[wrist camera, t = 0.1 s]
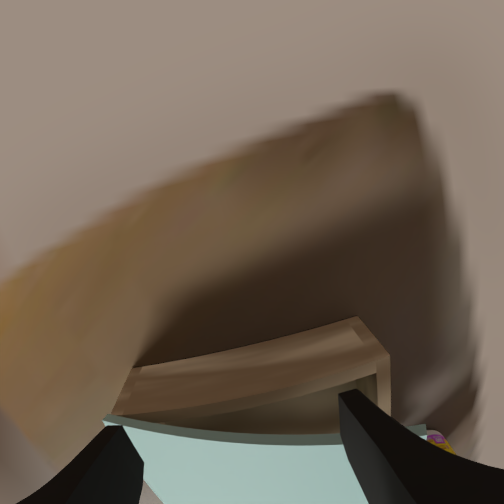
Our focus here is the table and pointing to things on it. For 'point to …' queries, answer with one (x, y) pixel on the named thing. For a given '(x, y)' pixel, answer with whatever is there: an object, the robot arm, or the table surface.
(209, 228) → the table surface
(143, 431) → the lid
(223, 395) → the box
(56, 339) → the table surface
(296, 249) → the table surface
